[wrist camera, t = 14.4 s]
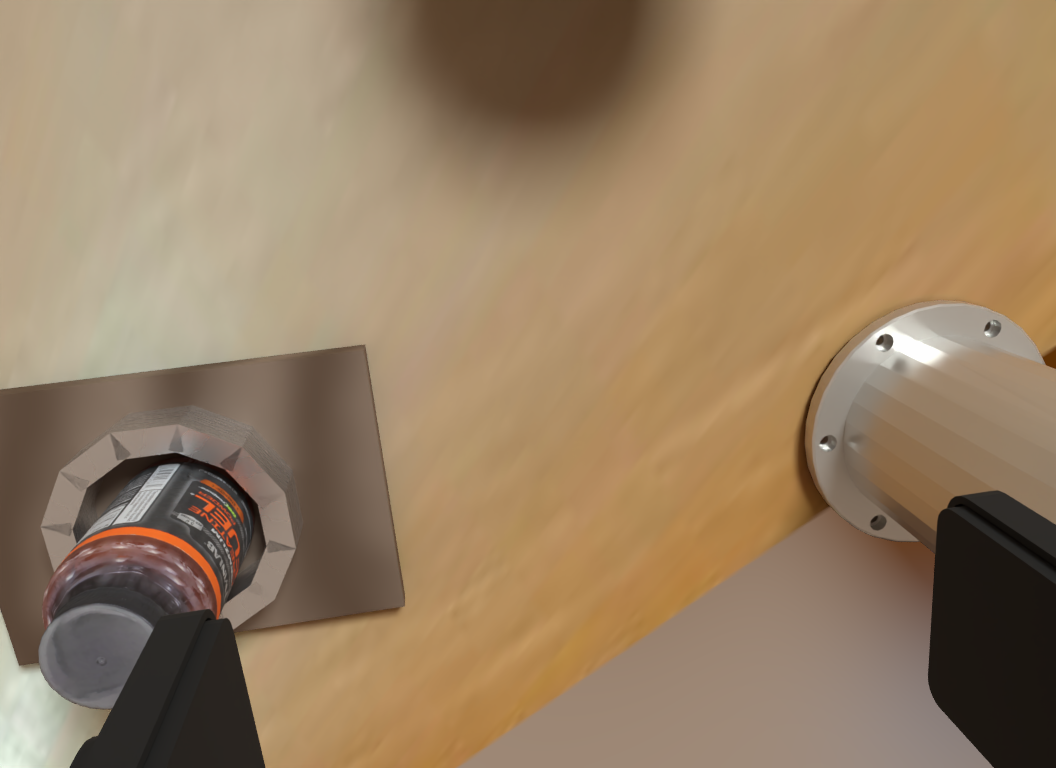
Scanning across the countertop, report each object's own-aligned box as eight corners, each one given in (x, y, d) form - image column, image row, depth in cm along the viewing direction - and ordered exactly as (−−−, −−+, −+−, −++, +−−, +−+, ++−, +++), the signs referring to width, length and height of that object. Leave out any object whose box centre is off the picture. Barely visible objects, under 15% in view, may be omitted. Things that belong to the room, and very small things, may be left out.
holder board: (364, 344, 38) (363, 350, 37) (404, 595, 42) (404, 606, 41) (-55, 396, 36) (-67, 403, 35) (28, 652, 40) (19, 665, 39)
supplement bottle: (284, 528, 39) (234, 680, 28) (177, 593, 39) (87, 769, 28) (204, 426, 37) (118, 548, 26) (92, 495, 37) (-39, 644, 27)
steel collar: (277, 394, 37) (268, 412, 35) (316, 591, 40) (310, 621, 38) (41, 424, 36) (15, 445, 34) (99, 624, 39) (79, 656, 37)
